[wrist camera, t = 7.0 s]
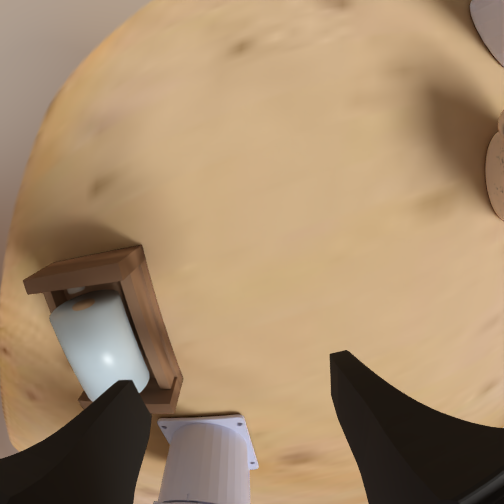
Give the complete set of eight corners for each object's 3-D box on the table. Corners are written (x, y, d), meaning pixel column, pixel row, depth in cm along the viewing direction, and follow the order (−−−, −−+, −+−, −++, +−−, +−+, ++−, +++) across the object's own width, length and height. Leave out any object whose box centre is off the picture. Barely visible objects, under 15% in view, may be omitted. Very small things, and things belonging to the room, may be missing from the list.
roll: (156, 360, 19) (141, 406, 15) (100, 364, 19) (77, 405, 14) (129, 283, 18) (101, 318, 13) (70, 293, 18) (35, 325, 13)
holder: (183, 378, 21) (174, 413, 17) (100, 380, 21) (83, 409, 17) (142, 244, 18) (118, 263, 14) (53, 262, 18) (22, 280, 14)
